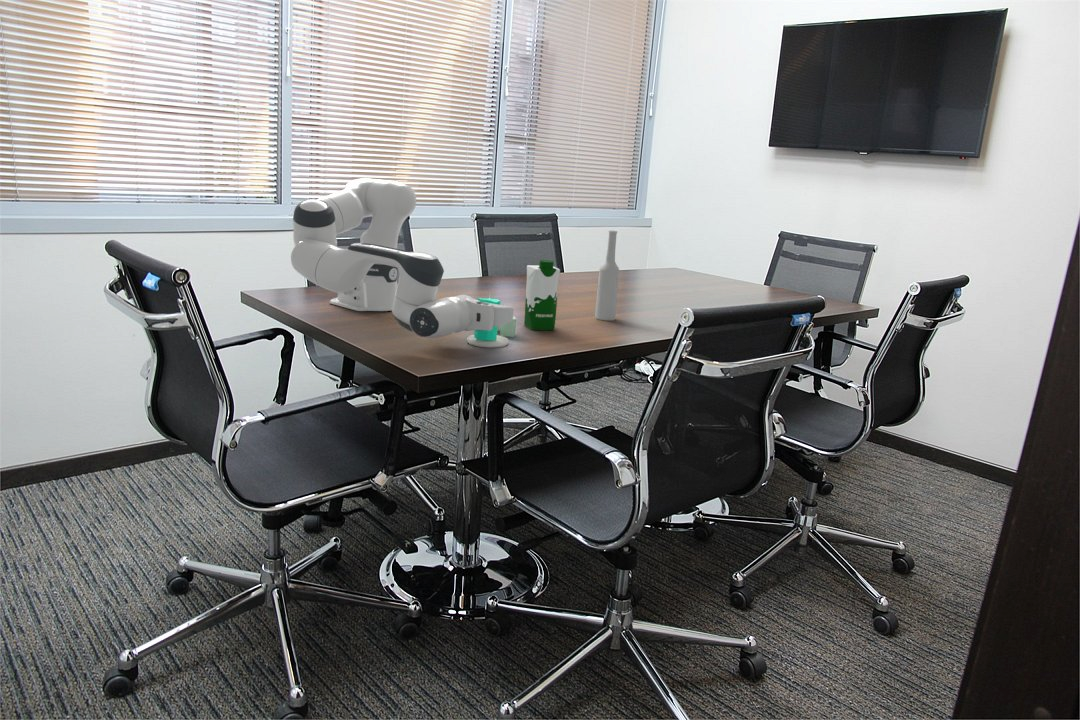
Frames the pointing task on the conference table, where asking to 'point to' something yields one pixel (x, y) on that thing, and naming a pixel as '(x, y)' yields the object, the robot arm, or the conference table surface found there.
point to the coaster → (488, 342)
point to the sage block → (508, 328)
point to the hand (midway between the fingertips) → (491, 305)
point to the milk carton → (541, 296)
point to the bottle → (608, 283)
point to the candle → (489, 334)
